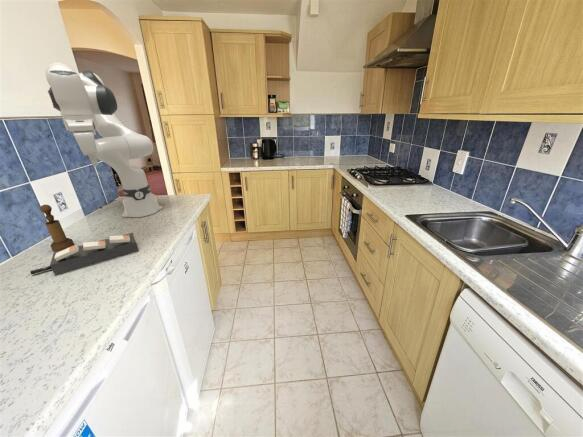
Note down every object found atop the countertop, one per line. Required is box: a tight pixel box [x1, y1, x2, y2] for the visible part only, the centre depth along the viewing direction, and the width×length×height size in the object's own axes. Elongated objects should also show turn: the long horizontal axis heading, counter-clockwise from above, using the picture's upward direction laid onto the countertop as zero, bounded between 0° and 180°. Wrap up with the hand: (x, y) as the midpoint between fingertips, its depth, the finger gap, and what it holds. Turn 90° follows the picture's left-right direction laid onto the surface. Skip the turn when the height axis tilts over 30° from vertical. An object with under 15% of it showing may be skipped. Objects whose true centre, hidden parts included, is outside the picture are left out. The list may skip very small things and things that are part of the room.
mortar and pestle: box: [39, 204, 75, 253], centre depth 93 cm, size 7×6×18 cm
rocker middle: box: [82, 240, 106, 250], centre depth 86 cm, size 4×6×1 cm, turn 127°
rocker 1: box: [54, 244, 79, 261], centre depth 81 cm, size 4×6×1 cm, turn 127°
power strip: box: [29, 232, 139, 276], centre depth 87 cm, size 10×30×5 cm, turn 127°
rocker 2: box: [108, 234, 130, 243], centre depth 90 cm, size 4×6×1 cm, turn 127°
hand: (95, 165), depth 88 cm, fingers closed
